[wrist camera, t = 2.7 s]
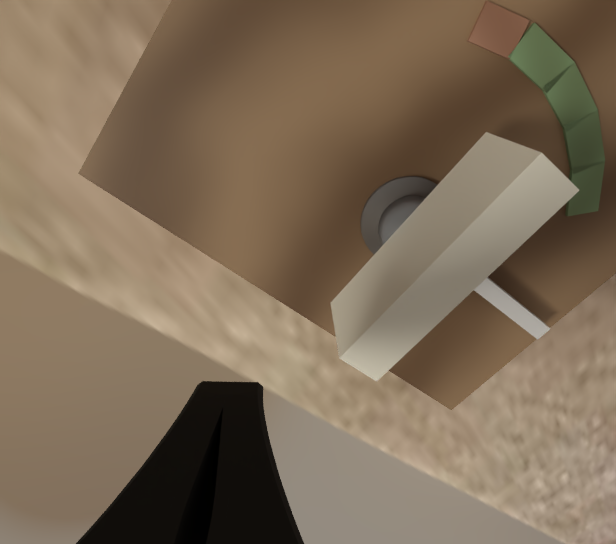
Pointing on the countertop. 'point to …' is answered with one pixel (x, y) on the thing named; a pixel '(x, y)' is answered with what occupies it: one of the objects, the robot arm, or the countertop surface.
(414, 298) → the tuning key
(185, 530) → the robot arm
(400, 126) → the brown dial board
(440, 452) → the countertop surface
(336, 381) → the countertop surface
